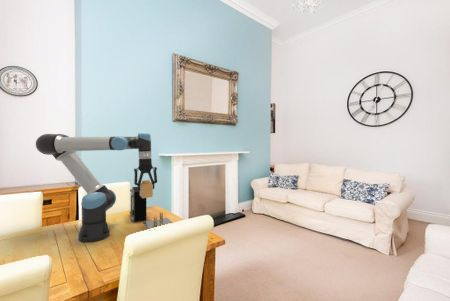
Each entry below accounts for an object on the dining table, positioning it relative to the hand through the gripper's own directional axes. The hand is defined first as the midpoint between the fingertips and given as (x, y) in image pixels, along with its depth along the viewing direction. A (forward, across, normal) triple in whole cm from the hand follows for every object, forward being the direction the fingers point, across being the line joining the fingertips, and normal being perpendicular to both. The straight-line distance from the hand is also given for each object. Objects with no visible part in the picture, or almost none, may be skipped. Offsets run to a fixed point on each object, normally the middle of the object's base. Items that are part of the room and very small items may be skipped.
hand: (146, 195), depth 145 cm
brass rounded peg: (+20, +10, +3) cm, 22 cm away
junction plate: (+20, +7, -1) cm, 21 cm away
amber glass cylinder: (+20, +4, -4) cm, 21 cm away
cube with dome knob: (+1, 0, 0) cm, 1 cm away
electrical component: (+20, -2, +19) cm, 27 cm away
